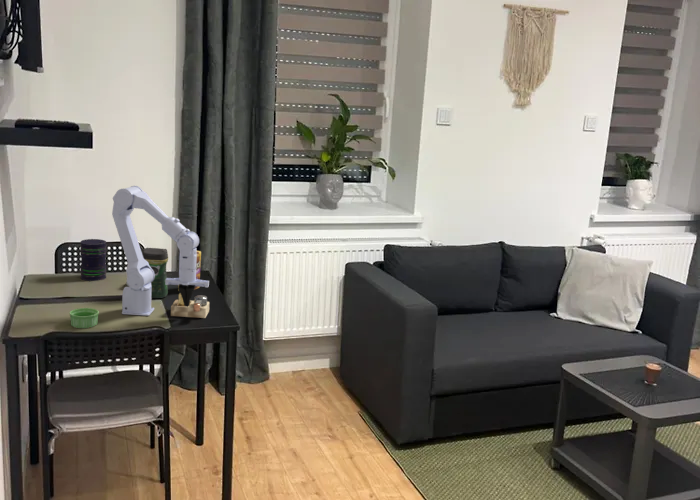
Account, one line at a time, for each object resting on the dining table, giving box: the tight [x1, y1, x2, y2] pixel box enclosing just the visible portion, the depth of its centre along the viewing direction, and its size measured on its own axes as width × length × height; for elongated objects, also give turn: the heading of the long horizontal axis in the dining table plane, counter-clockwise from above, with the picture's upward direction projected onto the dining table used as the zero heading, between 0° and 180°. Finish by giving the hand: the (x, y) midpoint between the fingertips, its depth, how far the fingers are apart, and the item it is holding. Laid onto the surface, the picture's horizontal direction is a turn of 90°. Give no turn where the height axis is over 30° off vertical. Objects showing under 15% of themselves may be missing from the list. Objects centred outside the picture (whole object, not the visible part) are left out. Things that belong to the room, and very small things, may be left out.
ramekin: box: [69, 307, 100, 329], centre depth 223 cm, size 9×9×4 cm
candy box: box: [177, 250, 202, 292], centre depth 269 cm, size 9×4×15 cm, turn 157°
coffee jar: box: [141, 247, 169, 299], centre depth 257 cm, size 10×8×19 cm
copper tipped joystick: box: [193, 294, 208, 312], centre depth 238 cm, size 4×11×3 cm, turn 2°
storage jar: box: [79, 238, 107, 282], centre depth 275 cm, size 10×10×15 cm
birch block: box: [170, 299, 210, 319], centre depth 242 cm, size 12×8×4 cm, turn 92°
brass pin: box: [177, 292, 184, 306], centre depth 241 cm, size 3×3×7 cm
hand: (186, 305), depth 237 cm, fingers closed
